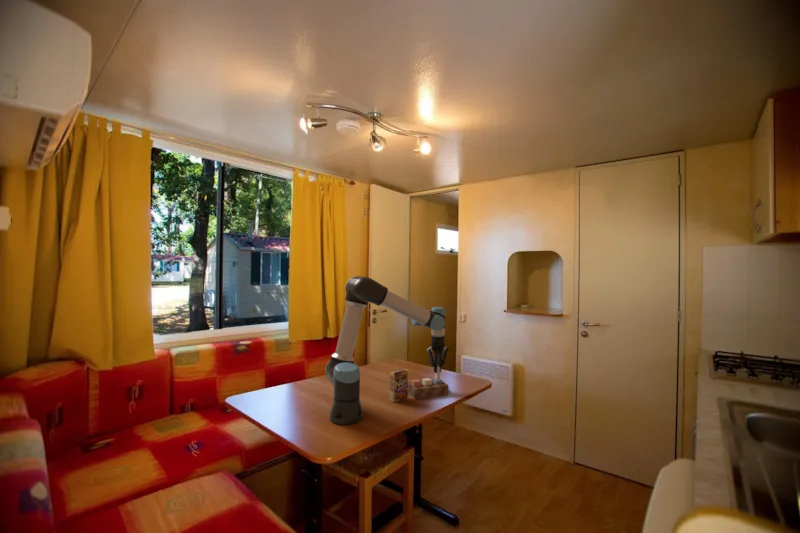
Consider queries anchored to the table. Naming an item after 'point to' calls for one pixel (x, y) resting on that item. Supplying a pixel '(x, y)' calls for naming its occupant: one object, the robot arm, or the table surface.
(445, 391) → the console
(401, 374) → the candy box
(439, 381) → the slate key
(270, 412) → the table surface
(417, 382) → the brick key
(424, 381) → the ivory key
